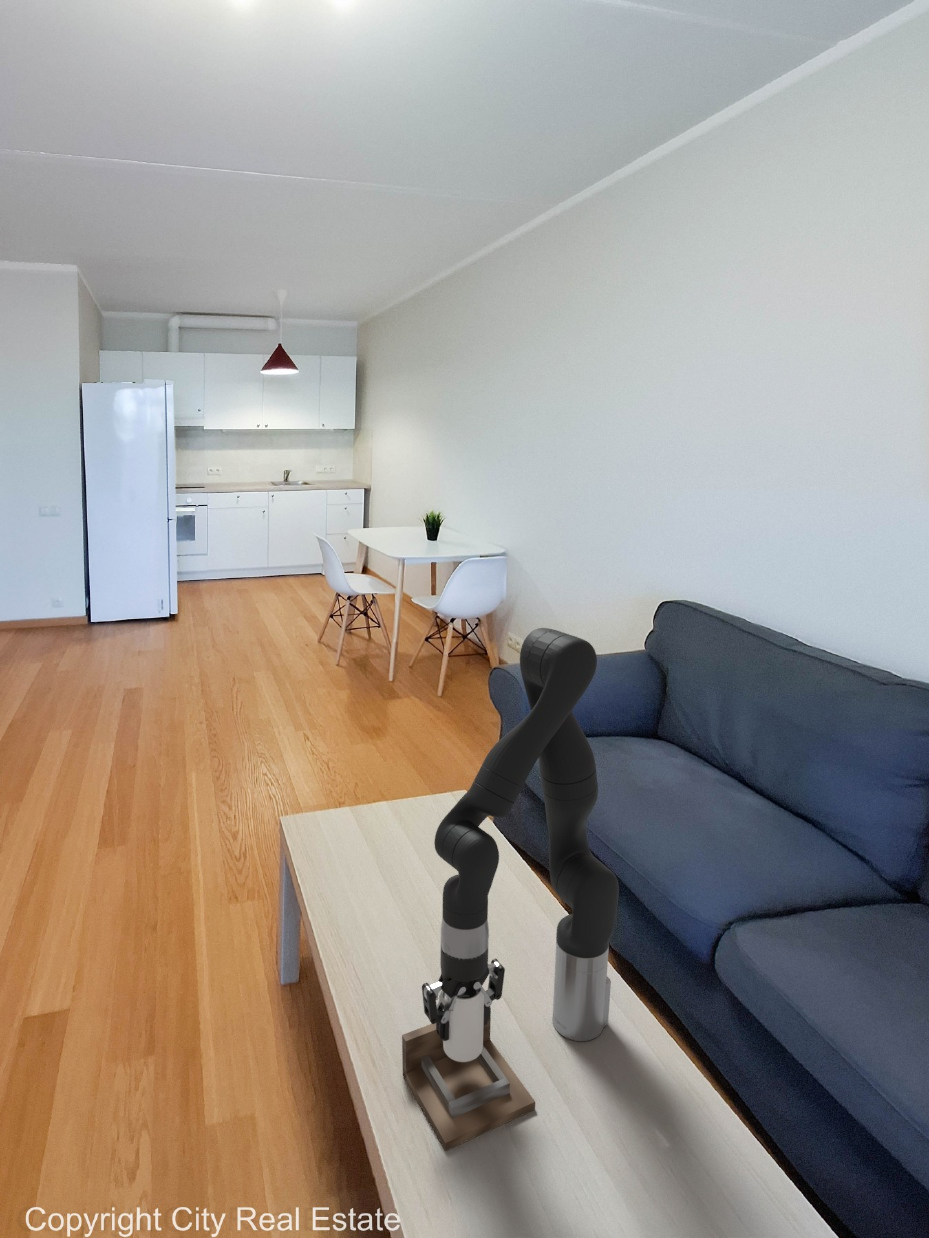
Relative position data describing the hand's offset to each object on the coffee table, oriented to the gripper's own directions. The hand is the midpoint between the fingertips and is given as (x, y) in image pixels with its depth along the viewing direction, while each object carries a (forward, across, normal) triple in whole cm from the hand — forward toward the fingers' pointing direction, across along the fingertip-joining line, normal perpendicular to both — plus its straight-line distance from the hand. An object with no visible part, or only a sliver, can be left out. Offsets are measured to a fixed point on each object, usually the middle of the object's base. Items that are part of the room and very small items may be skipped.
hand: (463, 1029), depth 130 cm
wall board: (+11, 0, +2) cm, 11 cm away
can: (+4, 0, 0) cm, 4 cm away
